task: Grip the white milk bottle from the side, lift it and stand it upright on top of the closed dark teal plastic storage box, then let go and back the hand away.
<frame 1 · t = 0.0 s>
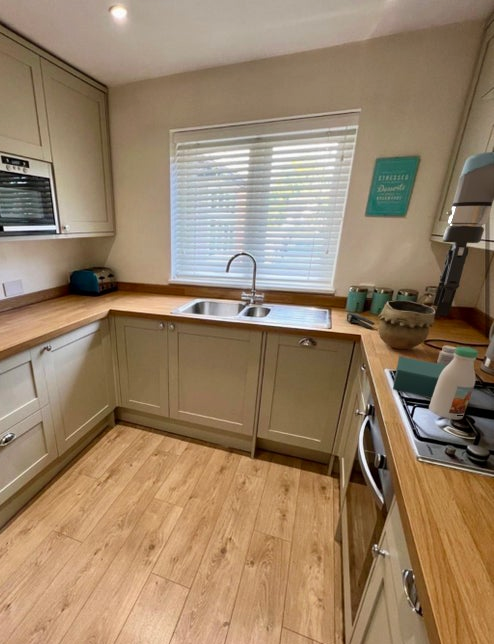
hand: (439, 310, 89), 29 cm above the countertop, tool pointing down, fingers open, 13 cm apart
clay pot: (398, 348, 147), on the countertop
pill bottle: (442, 368, 126), on the countertop
milk bottle: (444, 416, 93), on the countertop
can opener: (359, 325, 182), on the countertop
storage box: (418, 386, 110), on the countertop
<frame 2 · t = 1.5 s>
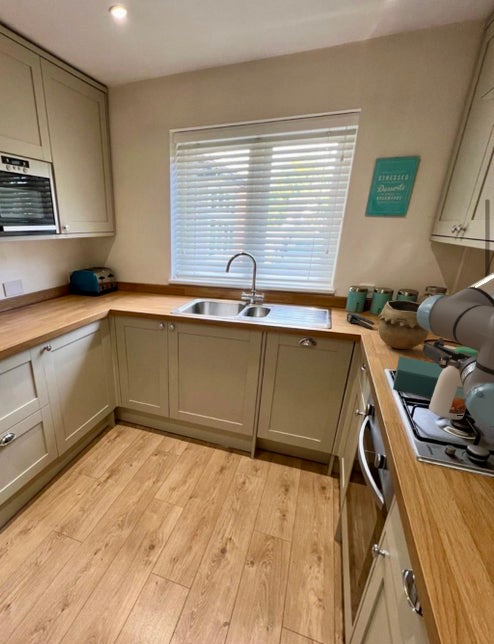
hand: (474, 349, 78), 23 cm above the countertop, tool horizontal, fingers open, 13 cm apart
nothing on the countertop moved.
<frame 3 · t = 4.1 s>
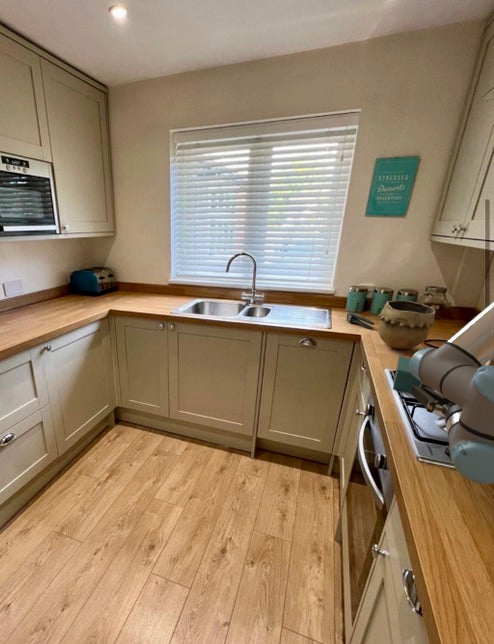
hand: (458, 388, 84), 11 cm above the countertop, tool horizontal, fingers open, 13 cm apart
nothing on the countertop moved.
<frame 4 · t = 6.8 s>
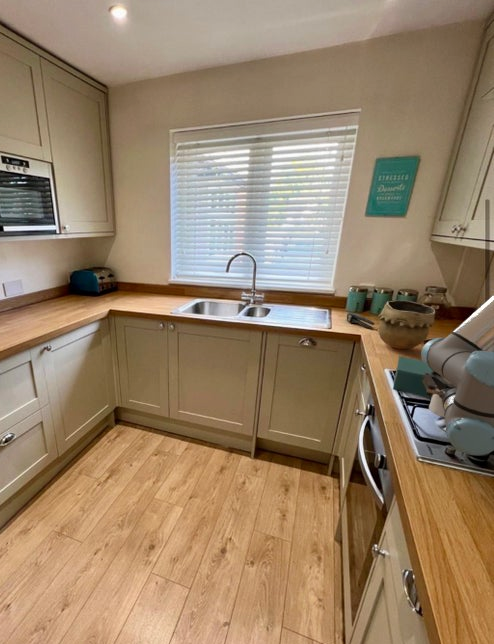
hand: (454, 374, 93), 11 cm above the countertop, tool horizontal, fingers closed on milk bottle, 8 cm apart
milk bottle: (444, 416, 93), on the countertop, touching gripper
everything else where it was.
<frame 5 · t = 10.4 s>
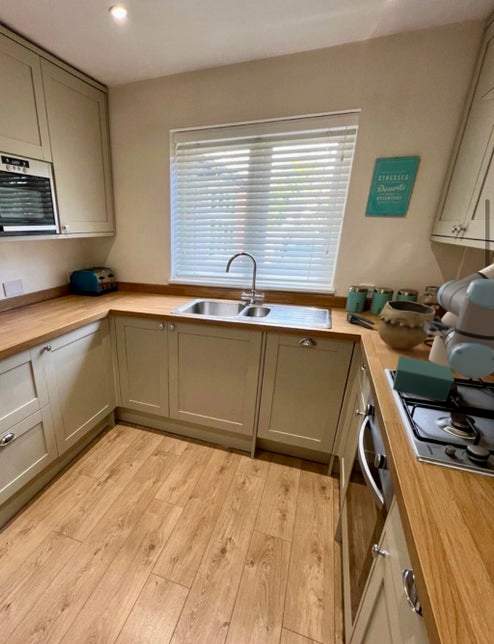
hand: (454, 322, 96), 24 cm above the countertop, tool horizontal, fingers closed on milk bottle, 8 cm apart
milk bottle: (444, 363, 96), point 13 cm above the countertop, touching gripper
everything else where it was.
when the fingers open (18 cm above the countertop, at t = 14.3 s): milk bottle stays where it is, resting on storage box.
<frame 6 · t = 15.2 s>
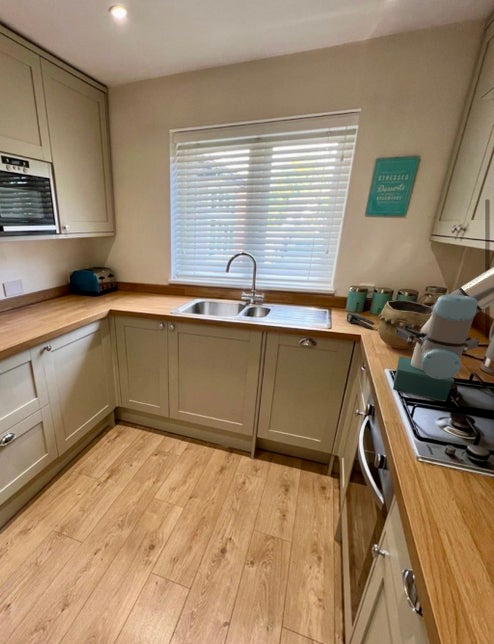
hand: (434, 330, 106), 19 cm above the countertop, tool horizontal, fingers open, 13 cm apart
milk bottle: (423, 368, 108), point 7 cm above the countertop, touching storage box
everything else where it was.
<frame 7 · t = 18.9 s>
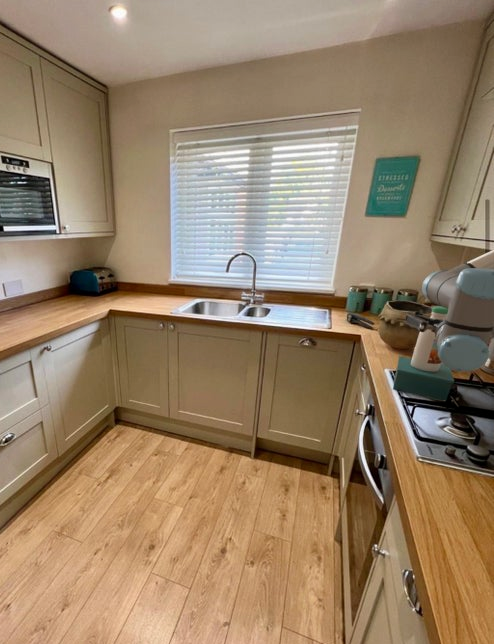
hand: (449, 317, 91), 26 cm above the countertop, tool horizontal, fingers open, 13 cm apart
nothing on the countertop moved.
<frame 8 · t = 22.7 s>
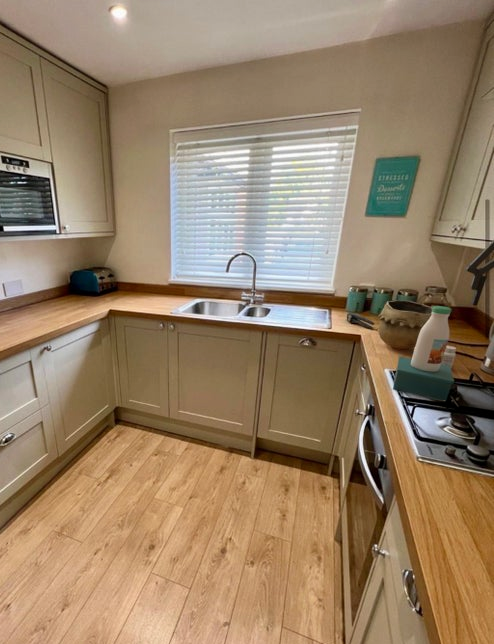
nothing on the countertop moved.
at the end: milk bottle inside the target area on the storage box (0.0 cm from its centre), point 6.8 cm above the storage box's base; milk bottle tilted 0°; the gripper is holding nothing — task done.
